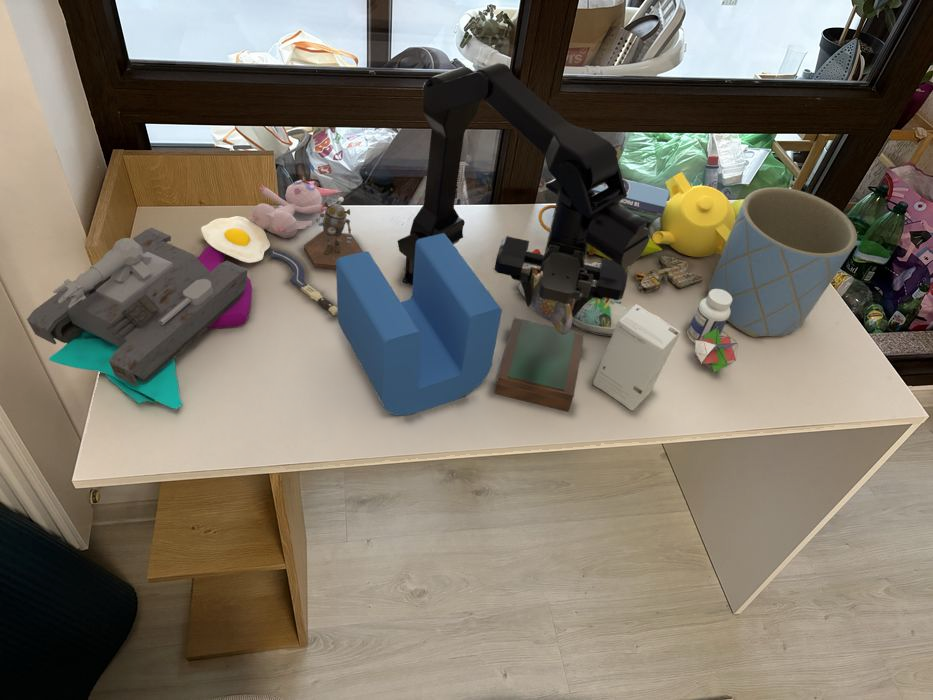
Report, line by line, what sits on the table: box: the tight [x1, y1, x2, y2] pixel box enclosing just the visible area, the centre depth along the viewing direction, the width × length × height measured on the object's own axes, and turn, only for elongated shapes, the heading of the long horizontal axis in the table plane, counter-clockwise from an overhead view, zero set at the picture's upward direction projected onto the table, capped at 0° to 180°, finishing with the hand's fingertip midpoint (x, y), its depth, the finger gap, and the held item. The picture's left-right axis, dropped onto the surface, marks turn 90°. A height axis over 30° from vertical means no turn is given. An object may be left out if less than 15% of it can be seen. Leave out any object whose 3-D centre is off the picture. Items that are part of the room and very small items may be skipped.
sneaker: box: [517, 248, 630, 337], centre depth 128 cm, size 8×21×10 cm, turn 60°
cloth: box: [48, 330, 183, 410], centre depth 112 cm, size 26×14×2 cm, turn 66°
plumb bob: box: [538, 204, 663, 260], centre depth 141 cm, size 9×9×25 cm
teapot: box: [651, 171, 735, 258], centre depth 143 cm, size 20×18×11 cm
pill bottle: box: [686, 289, 732, 344], centre depth 127 cm, size 5×5×10 cm
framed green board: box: [493, 317, 585, 413], centre depth 119 cm, size 12×14×4 cm
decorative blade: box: [269, 248, 338, 317], centre depth 130 cm, size 21×1×5 cm
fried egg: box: [200, 215, 271, 264], centre depth 132 cm, size 12×12×1 cm
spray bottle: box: [196, 233, 253, 330], centre depth 126 cm, size 3×11×24 cm
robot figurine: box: [303, 196, 364, 270], centre depth 131 cm, size 11×9×12 cm
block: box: [335, 233, 503, 416], centre depth 112 cm, size 18×18×18 cm
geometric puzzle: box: [693, 327, 739, 374], centre depth 124 cm, size 7×7×8 cm
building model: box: [634, 255, 704, 294], centre depth 140 cm, size 15×9×2 cm, turn 128°
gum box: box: [592, 178, 670, 223], centre depth 143 cm, size 20×5×23 cm
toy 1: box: [26, 227, 248, 386], centre depth 111 cm, size 25×20×15 cm
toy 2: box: [248, 179, 343, 239], centre depth 140 cm, size 15×7×20 cm
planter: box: [707, 187, 858, 338], centre depth 130 cm, size 19×19×20 cm
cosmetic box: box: [592, 303, 682, 411], centre depth 115 cm, size 8×6×15 cm
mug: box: [530, 271, 575, 335], centre depth 111 cm, size 12×7×7 cm, turn 7°
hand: (550, 309), depth 112 cm, fingers closed on mug, 6 cm apart
